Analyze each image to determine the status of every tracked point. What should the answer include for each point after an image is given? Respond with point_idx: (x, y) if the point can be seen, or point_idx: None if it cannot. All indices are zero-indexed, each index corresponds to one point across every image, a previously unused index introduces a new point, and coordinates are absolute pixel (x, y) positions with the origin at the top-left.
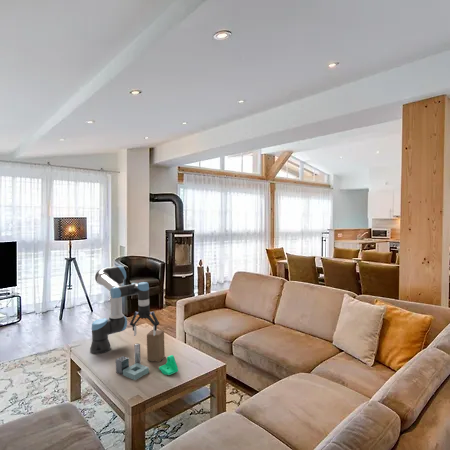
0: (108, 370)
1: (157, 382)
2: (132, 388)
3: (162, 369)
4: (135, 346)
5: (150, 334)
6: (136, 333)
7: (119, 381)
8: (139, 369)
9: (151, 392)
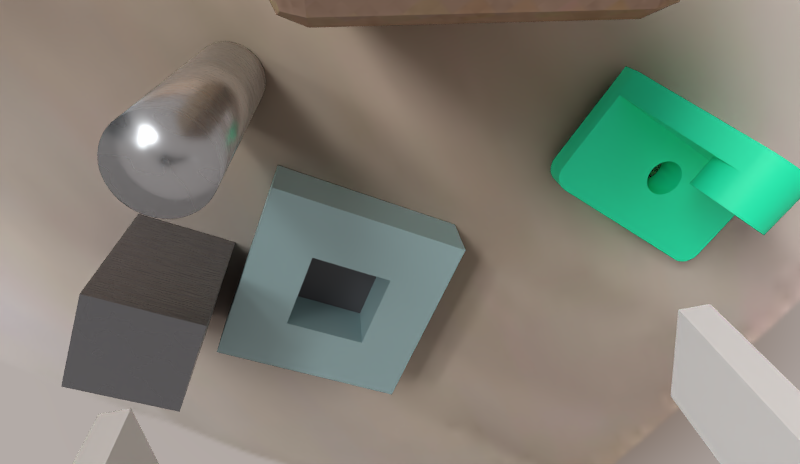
0: (7, 278)
1: (590, 343)
2: (427, 444)
3: (608, 217)
4: (165, 213)
5: (401, 3)
6: (120, 428)
7: (268, 399)
8: (385, 306)
9: (582, 447)
